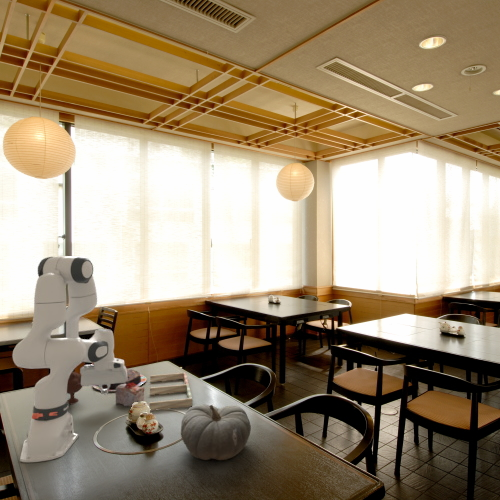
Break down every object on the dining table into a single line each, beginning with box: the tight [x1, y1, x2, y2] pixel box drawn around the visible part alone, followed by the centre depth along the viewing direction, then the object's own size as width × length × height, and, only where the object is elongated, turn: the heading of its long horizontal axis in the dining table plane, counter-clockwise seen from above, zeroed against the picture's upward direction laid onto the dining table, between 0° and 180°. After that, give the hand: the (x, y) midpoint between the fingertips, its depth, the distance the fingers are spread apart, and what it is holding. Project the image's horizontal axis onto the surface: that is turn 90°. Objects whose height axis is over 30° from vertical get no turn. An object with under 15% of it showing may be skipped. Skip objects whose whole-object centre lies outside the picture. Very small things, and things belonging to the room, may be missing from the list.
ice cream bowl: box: [67, 370, 83, 405], centre depth 187 cm, size 11×11×15 cm
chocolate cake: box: [92, 368, 147, 393], centre depth 212 cm, size 28×28×7 cm
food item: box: [115, 383, 145, 407], centre depth 183 cm, size 14×8×10 cm, turn 65°
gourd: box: [180, 404, 252, 461], centre depth 141 cm, size 25×25×17 cm
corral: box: [148, 371, 193, 411], centre depth 197 cm, size 40×19×4 cm, turn 14°
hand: (104, 393), depth 180 cm, fingers closed
